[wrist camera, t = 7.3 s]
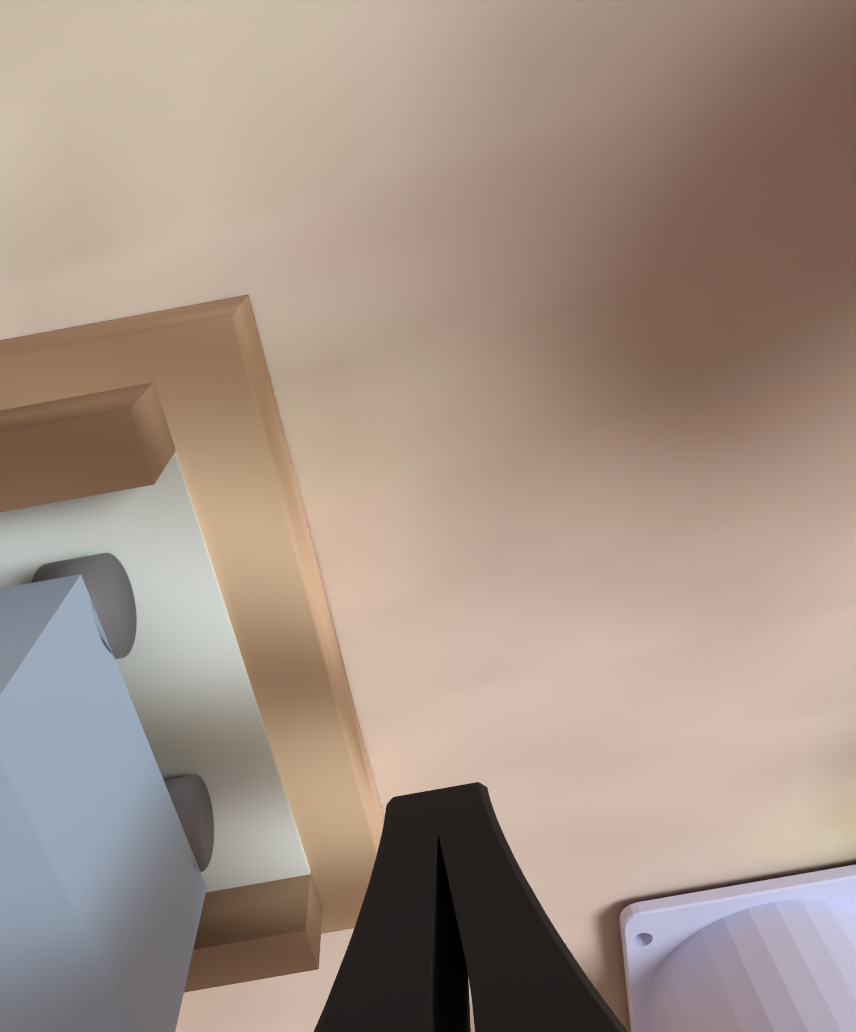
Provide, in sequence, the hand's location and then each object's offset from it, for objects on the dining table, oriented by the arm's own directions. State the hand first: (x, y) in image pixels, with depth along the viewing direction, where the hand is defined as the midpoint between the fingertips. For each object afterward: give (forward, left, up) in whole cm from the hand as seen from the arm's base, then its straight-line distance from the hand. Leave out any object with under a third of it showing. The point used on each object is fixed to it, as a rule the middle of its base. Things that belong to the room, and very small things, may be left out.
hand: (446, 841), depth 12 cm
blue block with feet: (0, +7, -5) cm, 9 cm away
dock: (0, +7, -7) cm, 10 cm away
